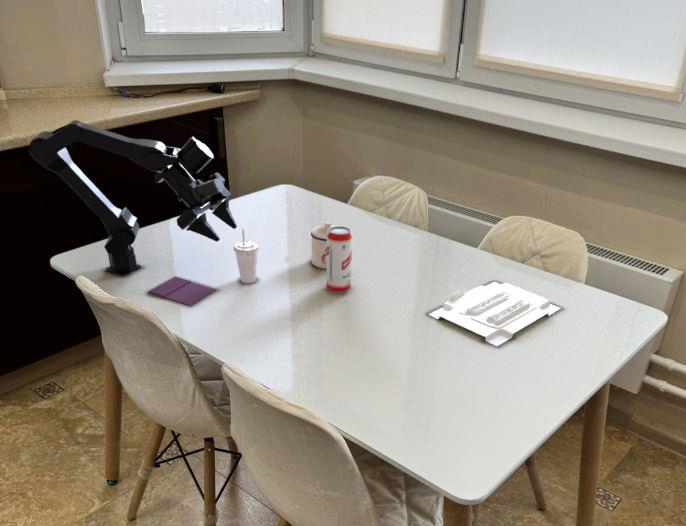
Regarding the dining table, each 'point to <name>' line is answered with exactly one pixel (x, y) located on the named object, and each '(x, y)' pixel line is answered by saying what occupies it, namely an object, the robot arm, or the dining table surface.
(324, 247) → the teacup with lid
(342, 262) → the beer can
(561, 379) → the dining table surface
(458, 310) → the tray
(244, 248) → the smoothie
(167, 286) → the dish cloth
